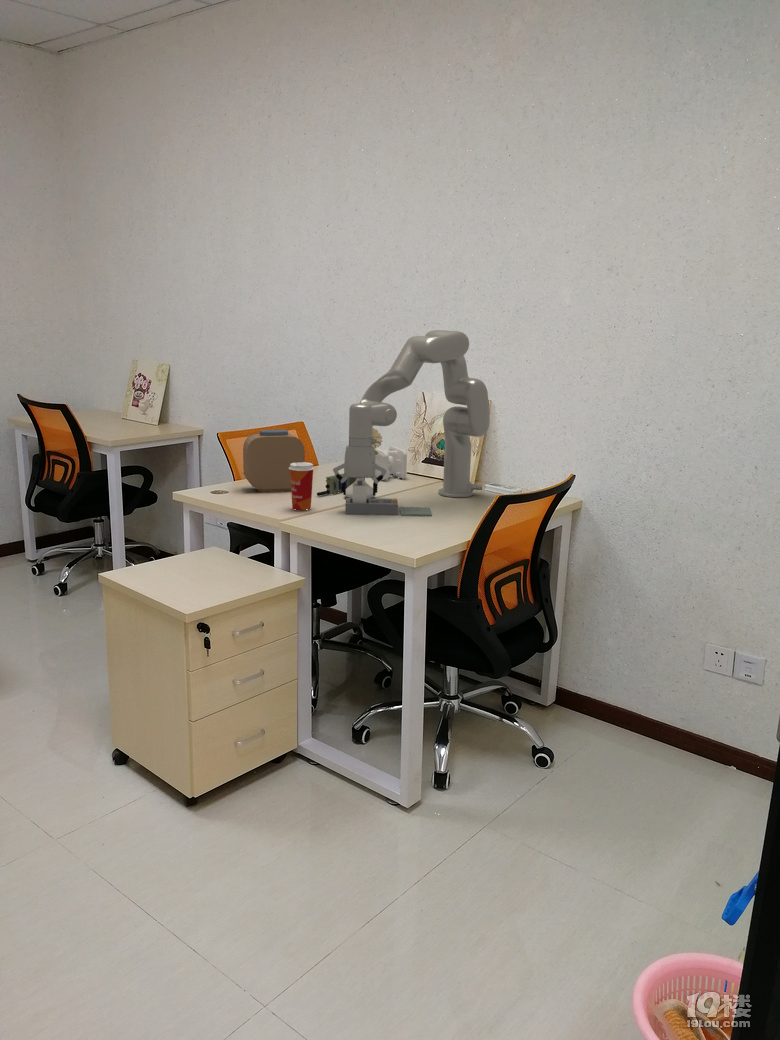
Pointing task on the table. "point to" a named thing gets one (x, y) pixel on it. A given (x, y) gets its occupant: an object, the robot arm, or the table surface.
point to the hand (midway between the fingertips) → (359, 494)
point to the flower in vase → (369, 489)
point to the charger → (359, 492)
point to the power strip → (372, 507)
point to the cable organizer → (392, 462)
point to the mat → (415, 511)
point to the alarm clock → (271, 459)
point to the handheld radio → (336, 484)
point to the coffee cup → (301, 485)
